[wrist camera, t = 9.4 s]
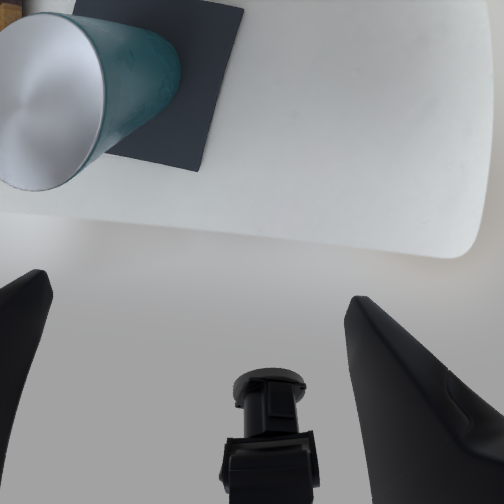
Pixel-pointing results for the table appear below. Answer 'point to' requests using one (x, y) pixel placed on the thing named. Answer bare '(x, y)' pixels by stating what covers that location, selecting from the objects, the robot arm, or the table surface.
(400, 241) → the table surface
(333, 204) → the table surface
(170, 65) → the can
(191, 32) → the mat
